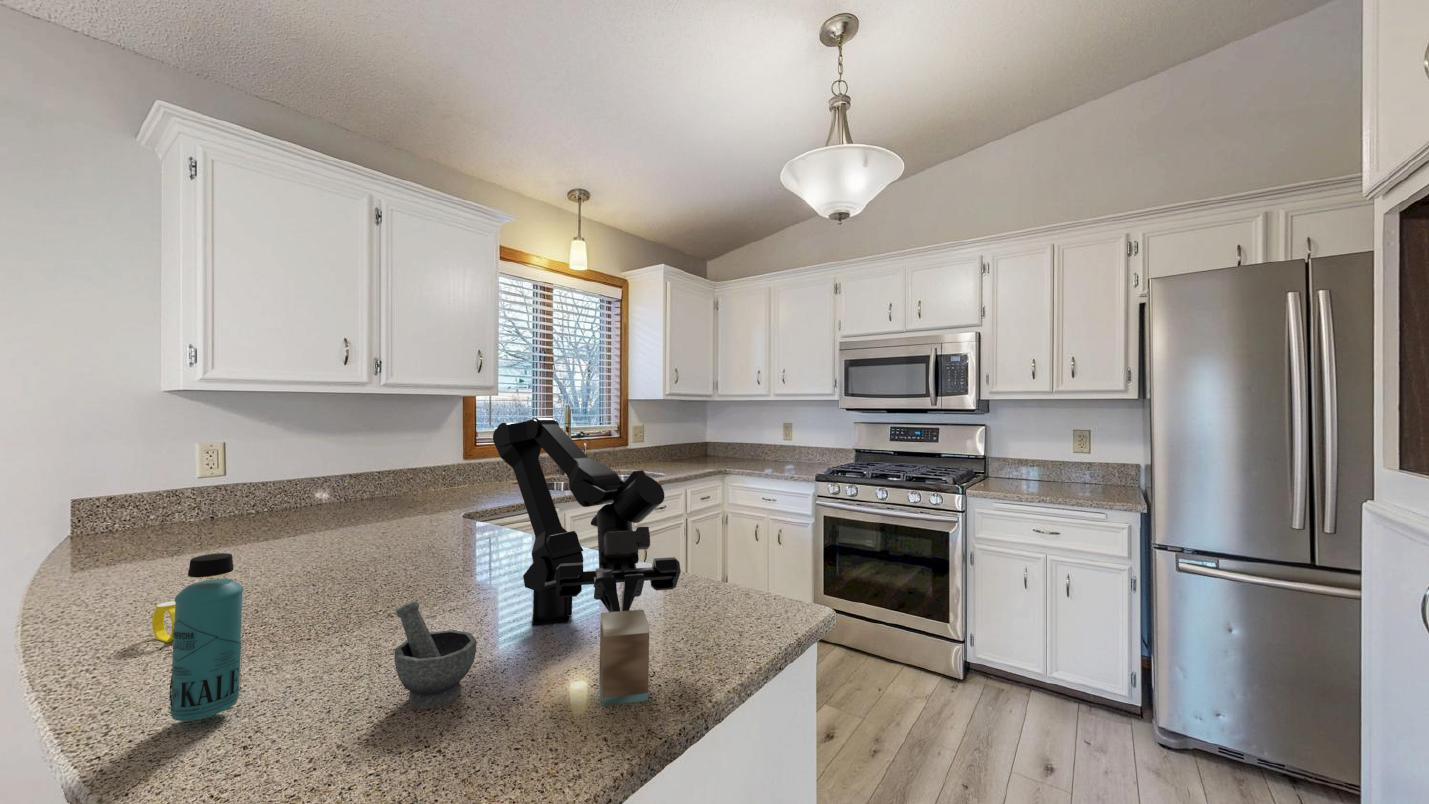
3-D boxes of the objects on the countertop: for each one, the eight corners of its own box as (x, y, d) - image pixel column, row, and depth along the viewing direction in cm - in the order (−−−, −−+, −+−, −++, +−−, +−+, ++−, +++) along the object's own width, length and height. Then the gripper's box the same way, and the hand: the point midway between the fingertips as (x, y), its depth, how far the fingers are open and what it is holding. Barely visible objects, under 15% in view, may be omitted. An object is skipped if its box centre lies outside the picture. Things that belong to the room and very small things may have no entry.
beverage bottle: (198, 706, 71) (204, 548, 71) (254, 704, 71) (259, 548, 71) (151, 736, 64) (157, 562, 64) (212, 734, 65) (218, 562, 65)
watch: (146, 642, 90) (146, 604, 90) (168, 635, 92) (167, 599, 93) (167, 645, 88) (167, 607, 88) (189, 639, 90) (189, 602, 91)
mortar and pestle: (489, 685, 77) (492, 599, 77) (438, 721, 68) (441, 623, 68) (424, 673, 80) (426, 590, 80) (367, 705, 71) (370, 612, 72)
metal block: (602, 706, 72) (603, 629, 73) (599, 684, 78) (600, 612, 78) (648, 700, 74) (649, 625, 74) (641, 679, 80) (643, 609, 80)
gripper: (557, 510, 83) (555, 610, 72) (679, 506, 88) (694, 598, 77) (556, 550, 90) (554, 646, 80) (668, 544, 96) (681, 633, 85)
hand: (622, 630), depth 80 cm, fingers closed
